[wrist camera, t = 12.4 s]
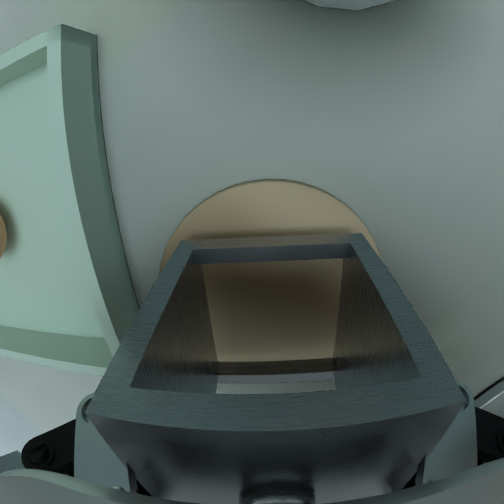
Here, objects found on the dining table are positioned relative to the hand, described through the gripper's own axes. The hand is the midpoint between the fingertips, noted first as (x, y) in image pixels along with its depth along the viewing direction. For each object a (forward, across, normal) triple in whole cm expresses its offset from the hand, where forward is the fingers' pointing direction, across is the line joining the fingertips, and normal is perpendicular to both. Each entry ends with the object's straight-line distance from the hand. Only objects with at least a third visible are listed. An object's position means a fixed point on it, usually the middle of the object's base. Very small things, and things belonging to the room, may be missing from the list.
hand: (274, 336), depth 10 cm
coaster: (+3, 0, 0) cm, 3 cm away
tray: (+3, +15, -4) cm, 16 cm away
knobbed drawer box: (+1, 0, 0) cm, 1 cm away
